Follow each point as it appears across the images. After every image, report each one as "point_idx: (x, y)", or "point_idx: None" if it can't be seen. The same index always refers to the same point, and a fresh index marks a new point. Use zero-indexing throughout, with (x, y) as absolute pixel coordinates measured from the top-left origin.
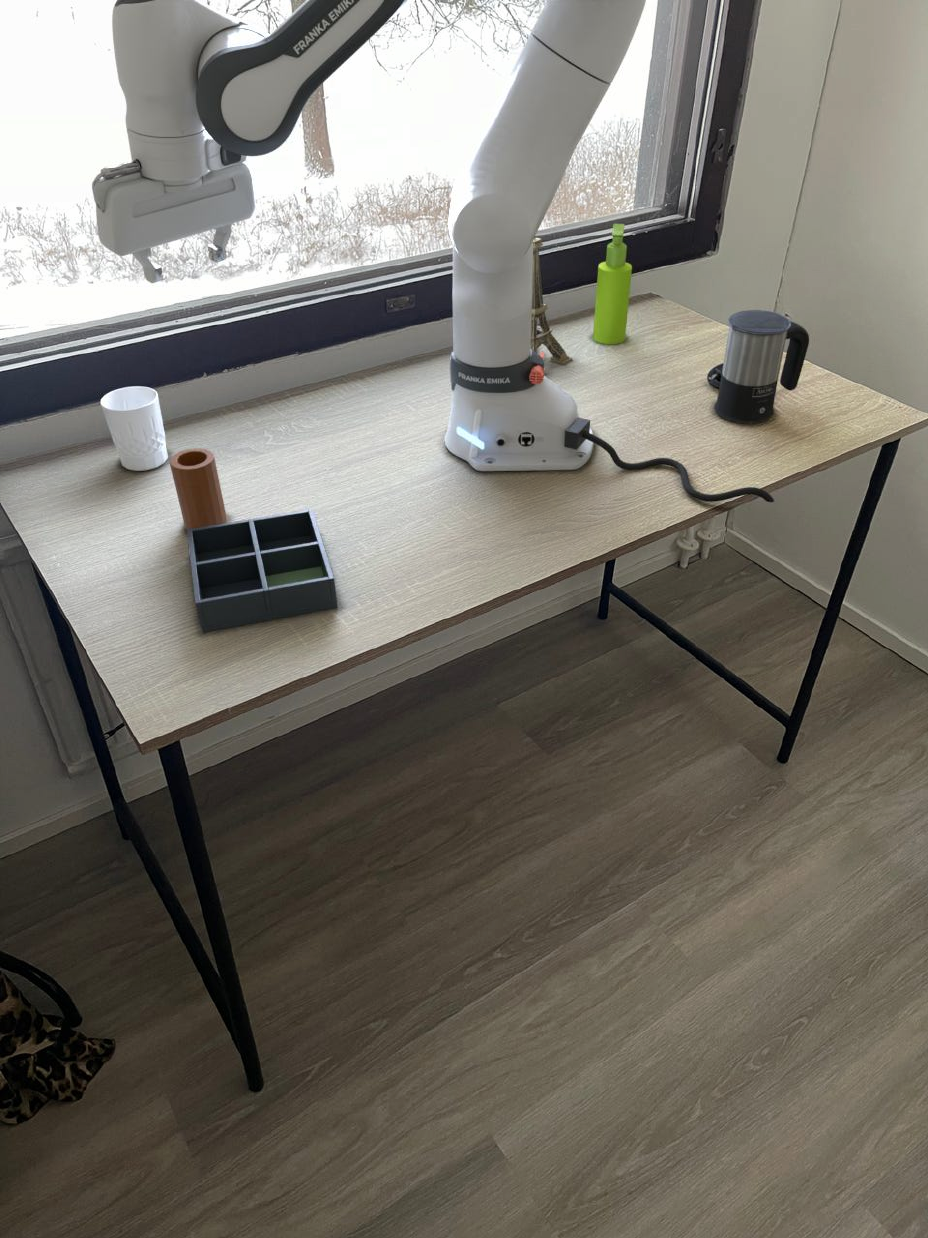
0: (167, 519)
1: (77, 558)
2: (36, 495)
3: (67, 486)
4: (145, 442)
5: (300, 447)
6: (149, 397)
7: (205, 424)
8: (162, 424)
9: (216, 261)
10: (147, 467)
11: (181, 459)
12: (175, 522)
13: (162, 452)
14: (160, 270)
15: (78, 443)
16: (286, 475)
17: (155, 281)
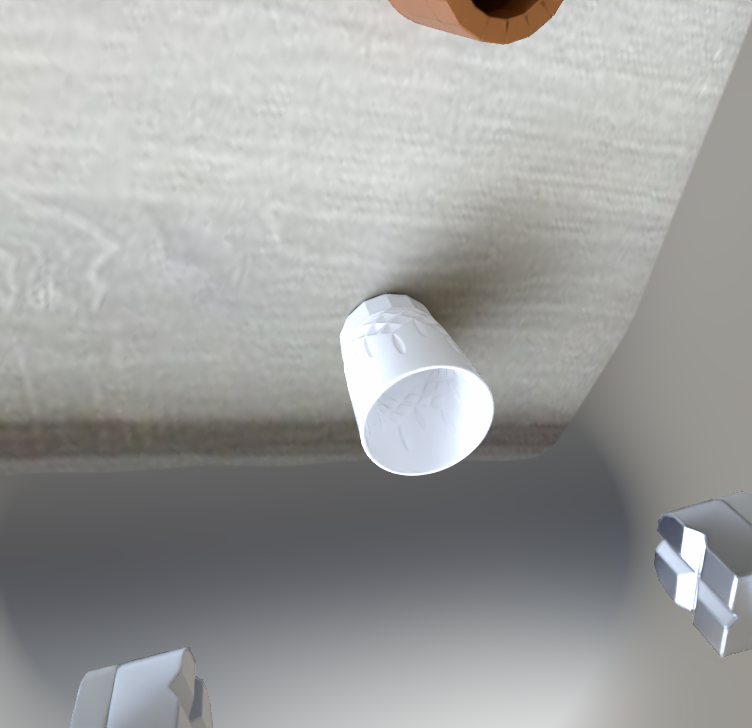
0: (481, 63)
1: (685, 48)
2: (590, 326)
3: (539, 325)
4: (415, 321)
5: (34, 171)
6: (365, 431)
7: (213, 405)
8: (360, 356)
9: (186, 650)
10: (404, 297)
11: (514, 12)
12: None
13: (368, 313)
14: (730, 555)
15: None
16: (135, 49)
17: (728, 496)
